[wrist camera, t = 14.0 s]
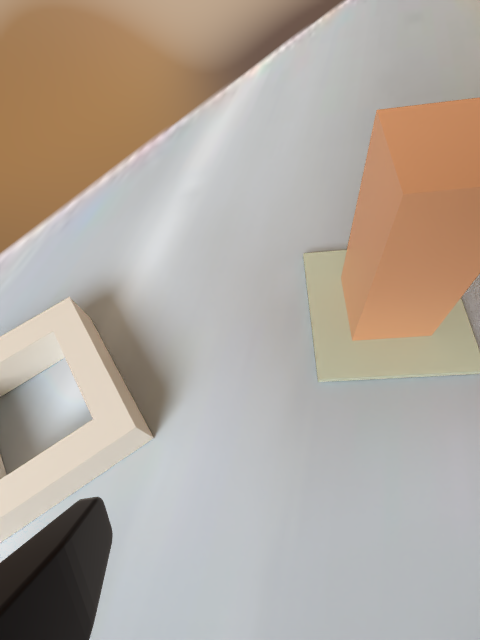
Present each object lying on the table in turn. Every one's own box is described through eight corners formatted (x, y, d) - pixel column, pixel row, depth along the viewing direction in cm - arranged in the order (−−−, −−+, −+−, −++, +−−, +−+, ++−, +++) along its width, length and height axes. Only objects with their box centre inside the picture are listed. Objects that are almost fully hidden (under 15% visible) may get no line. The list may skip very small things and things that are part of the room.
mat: (439, 246, 22) (441, 241, 22) (482, 373, 18) (486, 370, 18) (303, 257, 23) (303, 253, 22) (317, 381, 19) (318, 379, 19)
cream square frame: (90, 318, 23) (69, 296, 20) (154, 438, 19) (135, 427, 16) (-46, 399, 21) (-85, 385, 19) (-8, 548, 17) (-52, 552, 15)
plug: (413, 272, 21) (501, 94, 12) (431, 335, 19) (551, 179, 10) (340, 277, 21) (376, 109, 13) (352, 340, 19) (403, 194, 11)
